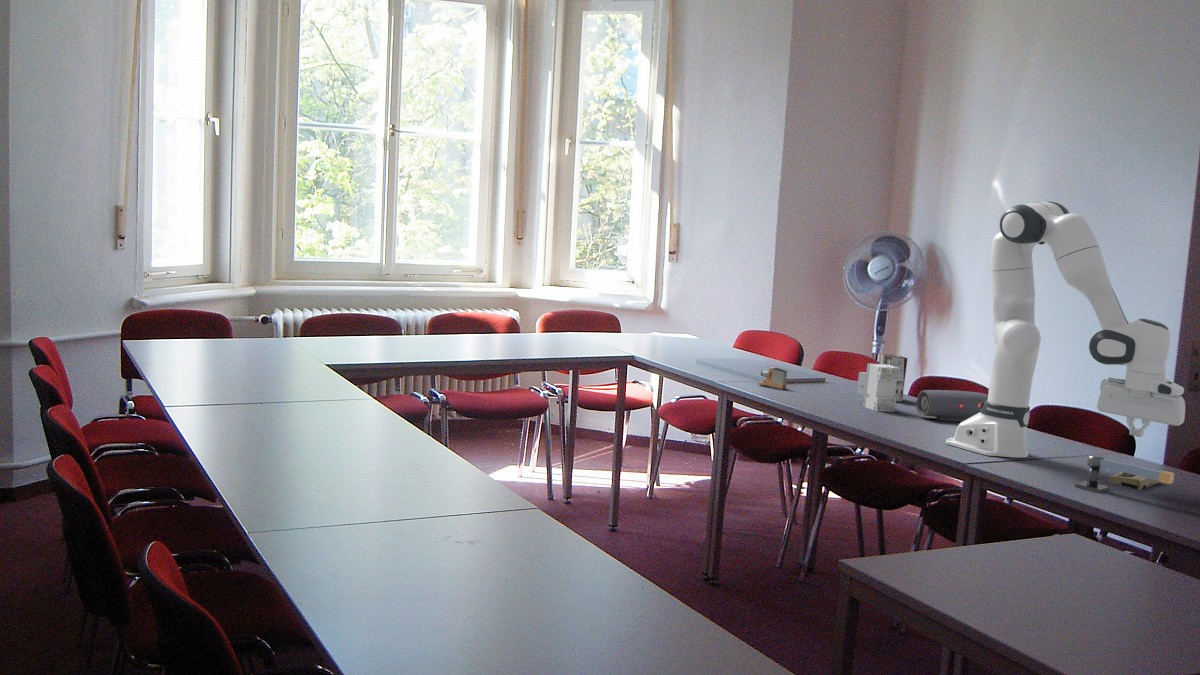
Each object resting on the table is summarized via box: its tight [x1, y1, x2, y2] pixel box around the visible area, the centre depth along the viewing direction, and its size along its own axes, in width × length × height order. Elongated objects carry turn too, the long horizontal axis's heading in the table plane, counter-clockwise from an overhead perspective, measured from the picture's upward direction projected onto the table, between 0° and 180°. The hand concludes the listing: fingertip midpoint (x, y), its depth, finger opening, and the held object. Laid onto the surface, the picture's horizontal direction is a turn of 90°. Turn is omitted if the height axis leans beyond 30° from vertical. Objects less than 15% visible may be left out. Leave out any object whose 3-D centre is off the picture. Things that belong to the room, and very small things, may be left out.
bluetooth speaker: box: [915, 389, 988, 422], centre depth 341 cm, size 23×9×10 cm, turn 102°
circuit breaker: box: [856, 363, 899, 412], centre depth 353 cm, size 8×14×15 cm, turn 18°
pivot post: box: [1074, 466, 1110, 494], centre depth 257 cm, size 6×6×6 cm
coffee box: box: [879, 353, 909, 402], centre depth 374 cm, size 9×6×16 cm
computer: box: [1107, 472, 1162, 491], centre depth 268 cm, size 16×8×3 cm, turn 134°
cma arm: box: [1086, 454, 1175, 485], centre depth 251 cm, size 20×4×2 cm, turn 42°
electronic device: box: [757, 366, 788, 390], centre depth 378 cm, size 4×10×8 cm, turn 61°
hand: (1136, 435), depth 264 cm, fingers closed
